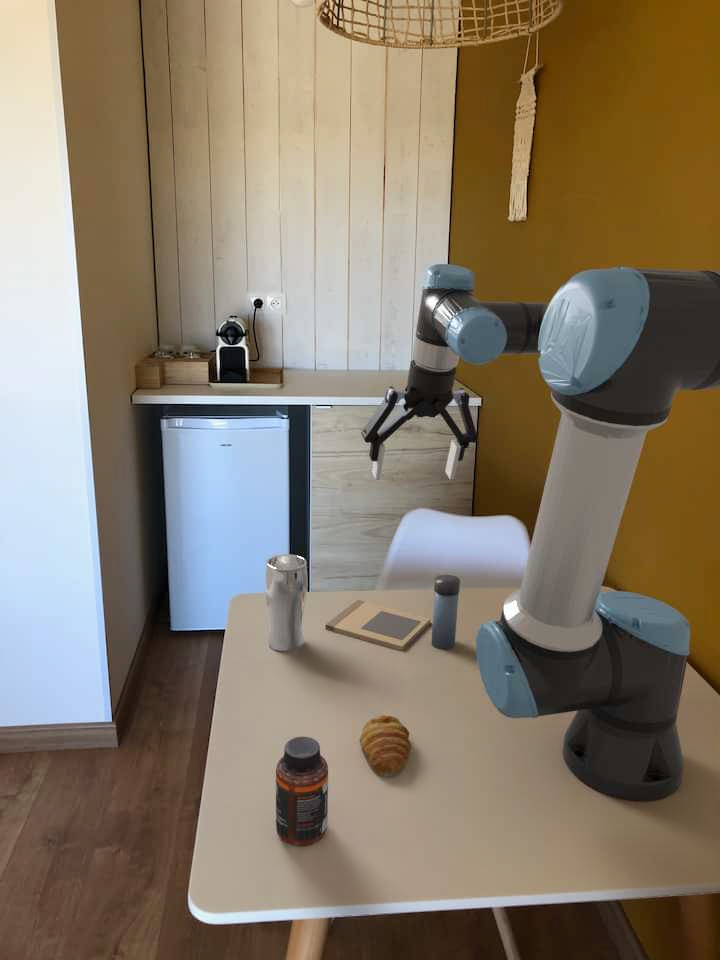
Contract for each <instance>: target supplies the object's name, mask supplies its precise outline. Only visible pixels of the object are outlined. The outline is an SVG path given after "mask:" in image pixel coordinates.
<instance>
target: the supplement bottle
mask: <svg viewBox="0 0 720 960" xmlns="http://www.w3.org/2000/svg"><path fill="white" fill-rule="evenodd" d="M283 748H284V749H283V750H284V754H283V756H282V757H281V758H280V759H279V760H278V762H277V764H276V766H275V767H276V768H275V828H276V835H278V838H280V840H281V841H283V842H284V843H286V844H287V845H291V846H293V847H308V846H311V845H314V844H316V843H319V841H320V840H322V839H323V838H324V836H325V834H326V833H327V829H328V818H329V817H328V812H329V811H328V809H329V808H328V807H329V806H328V805H329V803H328V801H329V798H328V796H329V795H328V794H329V768H328V767H329V766H328V763H327V760H326V759H325V758H324V756H322V755H321V745H320V743H319V741H317V740H316V739H315V738H313V737H310V736H296V737H293V738H291V739H289V740H288V741H286V743H285V745H284V747H283Z"/></svg>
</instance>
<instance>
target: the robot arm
mask: <svg viewBox="0 0 720 960" xmlns="http://www.w3.org/2000/svg"><path fill="white" fill-rule="evenodd" d="M475 280H476V279H475V274H474V272H473V271H472V270H470V269H469V268H467V267H463V266H460V265H456V264H450V263H449V264H448V263H438V264H433V265H431V266H429V268H428V269H427V271H426V274H425V278H424V282H423V286H422V288H421V291H422V292H421V294H422V295H421V299H420V306H419V311H418V312H419V313H418V317H417V325H416V331H415V337H414V341H413V342H414V343H413V347H412V354H411V358H412V360H411V361H410V365H409V371H408V375H407V383H406V387H405V388H404V390H400V389H395V388H394V386H392V385H391V386H388V387H387V389H386V392H385V397H384V398H383V399H382V402H381V403H380V405H378V408H376V410H375V411H374V413H373V414H372V416H371V418H370V419H369V420H368V422H367V423H366V425H365V426H364V428H363V429H362V430H361V433H360V434H361V437H362V438H363V440H364V442H365V443H368V444H370V445H369V446H370V448H369V455H368V456H369V458H370V460H371V462H372V468H371V469H372V470H371V473H372V475H373V478H374V480H375V481H380V479H381V474H382V468H383V462H384V456H385V449H386V446H385V444H384V442H386V440H387V439H389V437H391V436H392V435H393V434H394V433H395V432H396V431H398V430H399V428H400V427H402V426H403V425H404V424H405V423H406V422H407V421H410V420H411V419H413V418H414V417H417V418H424V417H428V418H436V417H437V416H438V415H440V416H441V417H442V419H443V420H444V422H445V423H446V424H447V427H448V428H449V429H450V431H451V432H452V433H453V435H454V436H455V438H456V439H451V441H450V442H451V443H450V447H449V451H448V457H447V460H446V465H445V470H444V473H445V474H446V476H447V477H448V479H449V480H455V476H456V473H457V467H458V463H459V462H461V461H463V459H464V455H465V451H466V449H468V448H469V446H470V443H474V444H476V443H477V442H478V441H479V438H478V433H477V430H476V426H475V424H474V420H473V417H472V413H471V410H470V407H469V405H470V395H469V393H468V392H467V391H466V389H465V388H463V387H460V388H458V390H457V391H456V390H455V391H453V388H454V384H455V379H456V375H457V366H458V364H459V361H460V358H461V359H462V360H463V361H465V362H466V363H468V364H470V365H474V366H475V365H476V366H481V365H482V366H483V365H486V364H487V363H489V362H492V361H493V360H496V359H497V358H499V356H501V355H540V356H539V358H538V366H539V367H538V368H539V371H540V373H541V376H542V379H543V380H544V382H545V383H546V384H547V386H548V387H550V388H551V392H550V398H551V400H552V402H553V403H554V404H555V406H556V407H557V408H558V410H559V411H560V413H561V416H560V420H559V423H558V428H557V431H556V437H555V441H554V445H553V451H552V453H551V458H550V463H549V467H548V471H547V475H546V480H545V484H544V488H543V492H542V497H541V501H540V505H539V510H538V513H537V518H536V521H535V525H534V530H533V531H534V532H533V535H532V539H531V544H530V548H529V552H528V556H527V560H526V565H525V569H524V573H523V574H524V575H523V578H522V581H521V582H522V583H521V587H520V588H519V589H517V590H515V591H513V592H512V593H510V594H509V595H508V596H507V598H506V599H505V600H504V603H503V607H502V611H501V615H500V619H499V620H497V621H495V620H489V621H488V622H485V623H482V624H481V625H480V626H479V627H478V631H477V632H476V638H475V639H476V640H475V646H476V647H475V648H476V650H475V652H476V659H477V664H478V670H479V672H480V677H481V681H482V683H483V687H484V689H485V691H486V694H487V696H488V697H489V700H490V702H491V703H492V705H493V706H494V708H496V710H497V711H498V712H499V713H500V714H501V715H503V716H504V717H506V718H511V719H525V718H526V719H527V718H531V719H537V718H538V717H545V716H552V715H558V714H559V715H560V714H565V713H571V712H576V713H575V715H574V717H572V720H571V721H570V723H569V725H568V728H567V729H566V731H565V735H564V739H563V746H562V757H563V760H564V762H565V765H566V766H567V768H568V769H569V770H570V772H571V773H573V775H575V776H576V778H578V779H579V780H580V781H582V782H583V783H584V784H585V785H587V786H589V787H591V788H592V789H595V790H597V791H599V792H601V793H604V794H605V795H609V796H612V797H616V798H620V799H623V800H630V801H640V802H642V801H645V802H646V801H647V802H648V801H655V800H660V799H662V798H666V797H669V796H670V795H672V794H673V793H675V792H676V791H677V790H678V789H679V787H680V785H681V784H682V779H683V778H682V777H683V773H684V757H683V751H682V747H681V742H680V737H679V732H678V727H677V720H678V719H677V718H678V713H679V707H680V701H681V695H682V690H683V685H684V679H685V673H686V669H687V665H688V664H687V663H688V659H689V655H690V652H691V649H690V648H689V647H690V639H691V626H690V623H689V621H688V620H687V618H686V617H685V616H684V615H683V614H682V613H681V612H680V611H679V610H678V609H676V608H674V607H672V606H671V605H669V604H668V603H665V602H663V601H660V600H659V599H656V598H653V597H649V596H647V595H643V594H639V593H635V592H630V591H623V590H622V591H621V590H609V591H604V592H600V591H601V588H602V585H603V581H604V579H605V575H606V572H607V568H608V565H609V561H610V558H611V554H612V551H613V548H614V546H615V541H616V537H617V535H618V532H619V528H620V524H621V521H622V517H623V513H624V510H625V507H626V503H627V500H628V498H629V494H630V490H631V488H632V483H633V480H634V476H635V473H636V470H637V467H638V463H639V459H640V456H641V453H642V450H643V447H644V443H645V440H646V436H647V433H648V432H649V431H651V430H653V429H655V428H658V427H660V426H661V425H663V424H664V423H666V422H667V421H668V418H669V415H670V411H671V408H672V406H673V402H674V399H675V396H676V393H677V392H681V391H703V390H713V389H718V388H720V271H718V270H682V269H681V270H680V269H661V268H660V269H659V268H642V267H640V268H637V267H628V266H624V265H623V266H615V267H612V268H601V269H600V268H599V269H598V268H596V269H595V268H594V269H587V270H586V269H585V270H584V271H581V272H579V273H577V274H575V275H573V276H571V277H570V278H569V280H568V281H567V282H564V283H563V284H562V285H561V286H560V287H559V288H558V289H557V291H556V292H555V294H554V295H553V297H552V298H551V300H550V301H549V302H521V301H518V302H517V301H513V302H512V301H480V300H479V299H478V298H476V297H475V296H474V295H473V292H474V291H475ZM402 399H404V402H403V403H402V404H401V405H400V406H399V407H398V409H397V411H396V412H395V413H393V414H392V415H391V413H392V412H393V410H394V409H395V406H396V404H397V405H399V403H400V401H401V400H402ZM453 400H454V402H455V403H456V405H457V406H458V410H459V413H460V417H461V420H462V422H463V426H464V430H465V433H463V432H462V431H461V430H460V428H459V427H458V425H457V424H456V422H455V421H454V419H453V418H452V415H450V413H449V411H448V410H447V406H449V405H450V404H451V402H452V401H453ZM390 415H391V416H390ZM389 416H390V417H389ZM388 417H389V418H388Z"/></svg>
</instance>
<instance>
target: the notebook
mask: <svg viewBox="0 0 720 960" xmlns="http://www.w3.org/2000/svg"><path fill="white" fill-rule="evenodd" d="M430 624H431V618H429V617H424V616H421V615H417V614H414V613H410V612H406V611H403V610H399V609H395V608H391V607H387V606H384V605H379V604H377V603H376V604H375V603H371V602H368V601H364V600H362V599H357V600H355V601H354V602H353V603H351V604H350V605H349V606H348V607H347V608H345V609H344V610H343V611H341V612H339V613H338V614H337V615H336V616H335V617H333V618H332V619H331V620H329V621H328V622H327V623H326V624H325V629H326V630H328V631H331V632H336V633H339V634H343V635H345V636H349V637H353V638H356V639H360V640H363V641H367V642H369V643H370V642H371V643H373V644H378V645H381V646H384V647H387V648H390V649H394V650H398V651H404V649H406V648H407V647H408V645H410V644H411V642H413V641H414V640H415V639H416V638H417V636H419V635H420V633H422V632H423V631H424V630H425V629H426V627H428V626H429V625H430Z"/></svg>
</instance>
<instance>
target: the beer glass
mask: <svg viewBox="0 0 720 960" xmlns="http://www.w3.org/2000/svg"><path fill="white" fill-rule="evenodd" d="M307 568H308V567H307V560H306V558H304V557H302V555H301V556H299V555H298V554H297V555H296V554H290V553H288V554H287V553H284V554H278V555H273V556H271V557H269V558H268V559H267V560H266V570H265V585H264V586H265V598H266V603H267V609H268V615H269V619H270V621H269V622H270V631H269V637H268V646H269V647H270V648H271V649H272V650H273V651H277V652H282V653H290V652H296V651H298V650H300V649H301V648H303V647H304V645H305V638H304V633H303V618H304V612H305V607H306V601H307V598H308V597H307V596H308V570H307Z"/></svg>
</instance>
